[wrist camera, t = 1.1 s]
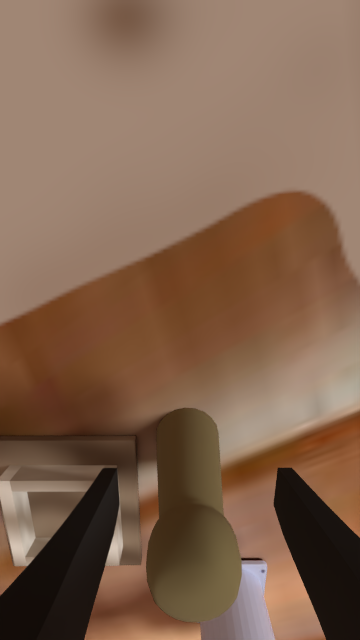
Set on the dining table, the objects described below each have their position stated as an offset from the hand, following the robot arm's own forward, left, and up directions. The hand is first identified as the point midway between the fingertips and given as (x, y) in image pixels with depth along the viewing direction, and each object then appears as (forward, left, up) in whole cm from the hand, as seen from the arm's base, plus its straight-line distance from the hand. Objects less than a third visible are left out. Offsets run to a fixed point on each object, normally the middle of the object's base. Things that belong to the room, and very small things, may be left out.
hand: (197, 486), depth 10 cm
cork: (-6, 0, -10) cm, 12 cm away
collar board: (-14, +12, -10) cm, 21 cm away
